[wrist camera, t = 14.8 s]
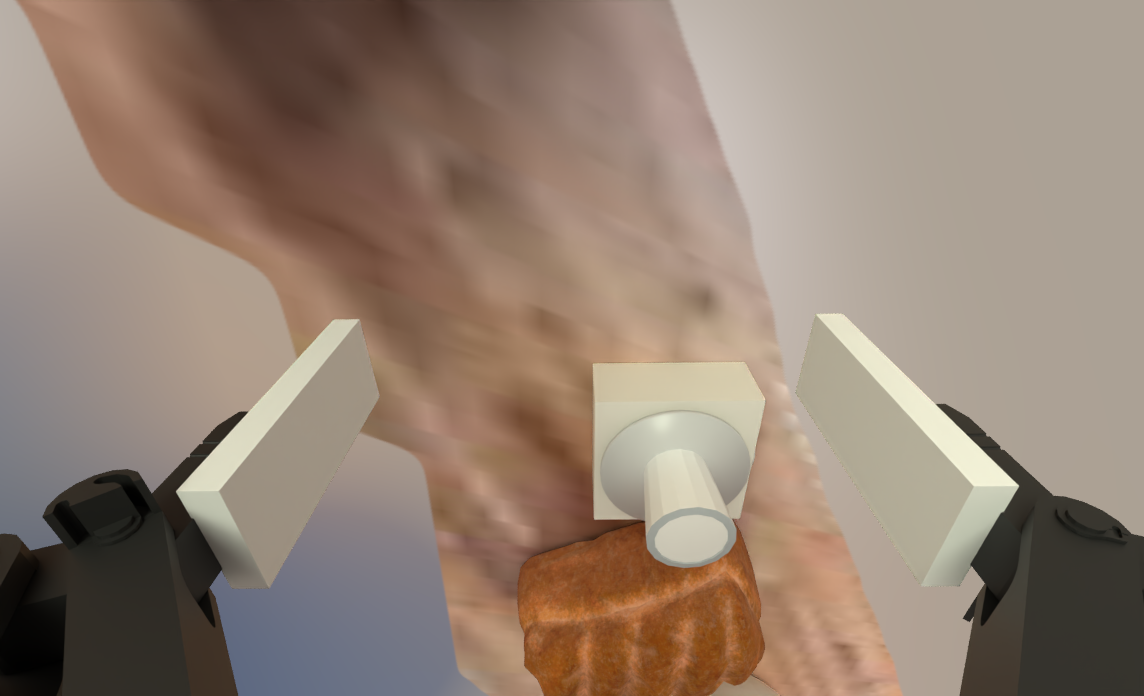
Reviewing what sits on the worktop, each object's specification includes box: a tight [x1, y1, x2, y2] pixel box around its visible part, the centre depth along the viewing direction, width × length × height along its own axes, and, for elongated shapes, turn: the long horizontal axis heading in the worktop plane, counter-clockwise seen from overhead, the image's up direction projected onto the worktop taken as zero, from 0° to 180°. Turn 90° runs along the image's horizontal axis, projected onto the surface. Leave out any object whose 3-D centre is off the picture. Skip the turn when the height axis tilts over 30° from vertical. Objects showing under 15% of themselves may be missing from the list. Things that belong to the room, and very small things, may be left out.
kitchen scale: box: [592, 362, 766, 521], centre depth 47 cm, size 15×14×7 cm
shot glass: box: [643, 449, 736, 568], centre depth 41 cm, size 7×7×7 cm
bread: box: [518, 519, 765, 696], centre depth 54 cm, size 14×26×16 cm, turn 114°
